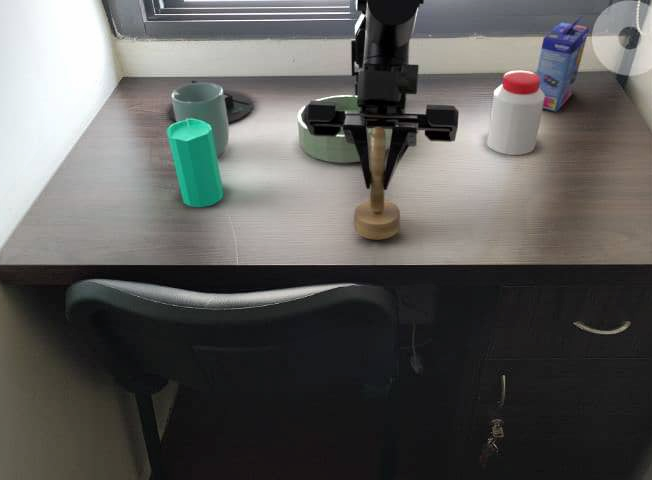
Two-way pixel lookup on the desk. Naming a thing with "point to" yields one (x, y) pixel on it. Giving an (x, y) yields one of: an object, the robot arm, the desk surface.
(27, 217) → the desk surface
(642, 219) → the desk surface
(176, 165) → the candle
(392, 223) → the wooden mushroom pestle
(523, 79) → the pill bottle
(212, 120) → the cup
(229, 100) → the black round base plate
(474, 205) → the desk surface
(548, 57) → the ink cartridge box
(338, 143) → the bowl
